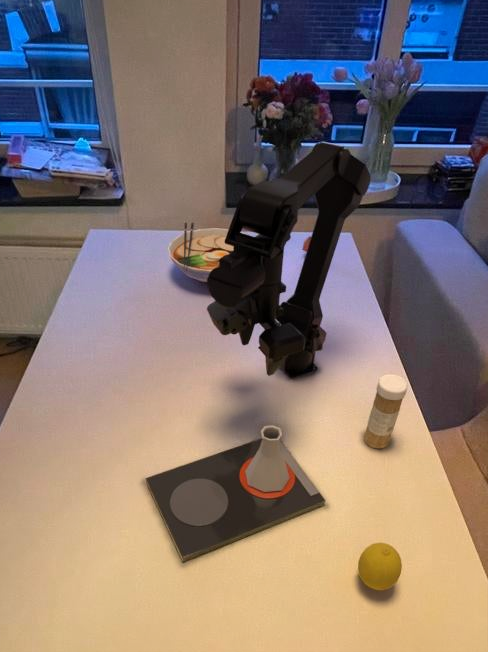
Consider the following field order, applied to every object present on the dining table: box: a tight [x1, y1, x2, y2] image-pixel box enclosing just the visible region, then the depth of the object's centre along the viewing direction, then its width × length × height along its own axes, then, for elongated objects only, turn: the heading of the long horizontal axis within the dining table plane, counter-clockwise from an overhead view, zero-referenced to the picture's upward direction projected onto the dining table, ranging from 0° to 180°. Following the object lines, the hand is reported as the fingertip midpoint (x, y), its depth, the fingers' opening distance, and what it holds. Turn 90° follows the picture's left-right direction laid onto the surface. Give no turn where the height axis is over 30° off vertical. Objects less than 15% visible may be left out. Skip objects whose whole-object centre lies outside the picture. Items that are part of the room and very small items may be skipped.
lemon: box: [357, 542, 403, 591], centre depth 70 cm, size 6×6×8 cm
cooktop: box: [145, 437, 326, 563], centre depth 84 cm, size 24×16×2 cm, turn 115°
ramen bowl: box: [167, 222, 248, 283], centre depth 132 cm, size 25×23×8 cm
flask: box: [245, 424, 289, 492], centre depth 82 cm, size 7×7×10 cm
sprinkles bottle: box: [363, 373, 408, 449], centre depth 88 cm, size 5×5×13 cm
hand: (257, 359), depth 90 cm, fingers open, 9 cm apart
